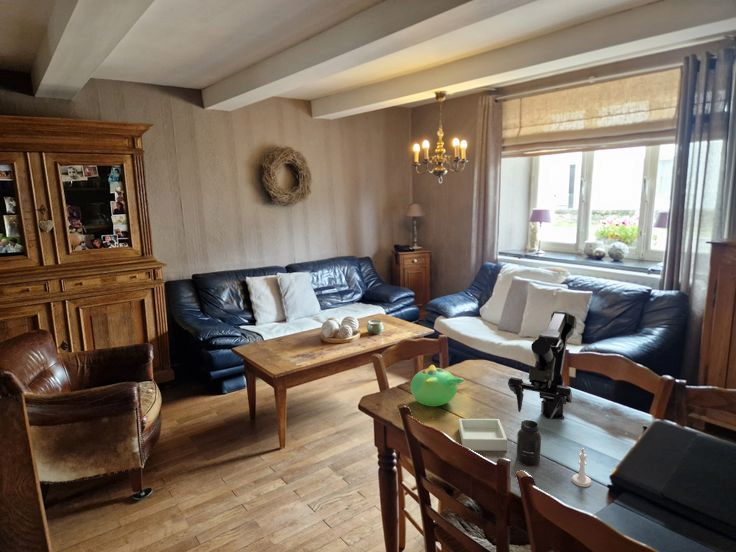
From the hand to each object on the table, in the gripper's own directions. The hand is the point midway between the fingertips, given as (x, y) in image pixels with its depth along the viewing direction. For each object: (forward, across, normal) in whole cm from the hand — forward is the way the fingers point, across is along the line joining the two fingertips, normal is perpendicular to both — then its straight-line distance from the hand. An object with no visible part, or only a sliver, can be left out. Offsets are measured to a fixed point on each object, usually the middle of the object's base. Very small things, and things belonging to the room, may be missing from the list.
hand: (534, 415), depth 143 cm
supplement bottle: (+13, 0, +5) cm, 14 cm away
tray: (+9, -16, +8) cm, 20 cm away
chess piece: (+15, +15, +2) cm, 22 cm away
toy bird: (-2, -41, +20) cm, 45 cm away
